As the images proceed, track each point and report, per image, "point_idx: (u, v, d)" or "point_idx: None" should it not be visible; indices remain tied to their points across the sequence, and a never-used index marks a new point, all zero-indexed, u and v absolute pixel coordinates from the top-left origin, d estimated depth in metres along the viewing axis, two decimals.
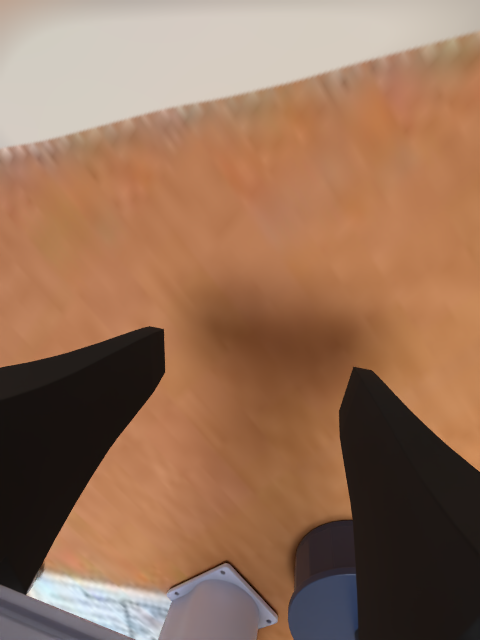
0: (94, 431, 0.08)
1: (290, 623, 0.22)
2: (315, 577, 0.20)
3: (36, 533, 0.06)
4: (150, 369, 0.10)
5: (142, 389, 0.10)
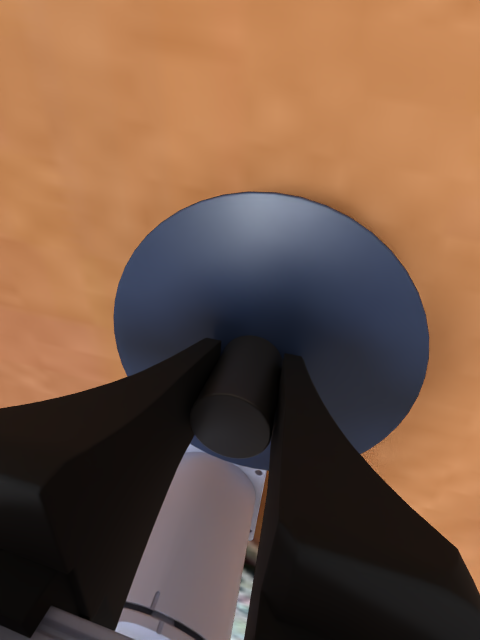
0: (169, 452, 0.07)
1: None
2: None
3: (126, 565, 0.06)
4: None
5: None
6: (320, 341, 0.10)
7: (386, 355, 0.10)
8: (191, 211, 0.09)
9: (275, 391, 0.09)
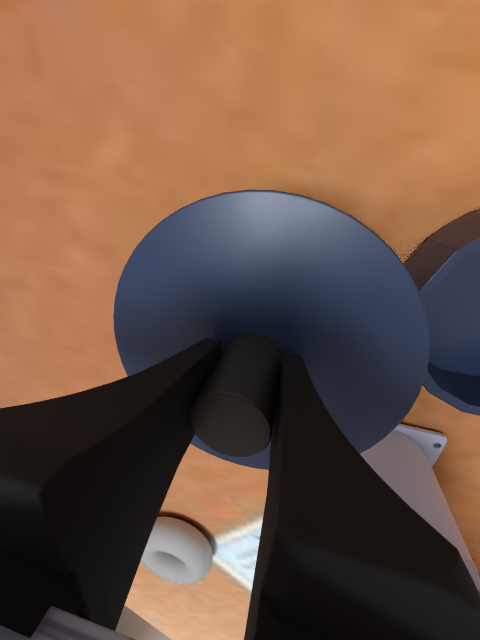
0: (169, 452, 0.07)
1: None
2: None
3: (126, 565, 0.06)
4: None
5: None
6: (320, 340, 0.10)
7: (387, 354, 0.10)
8: (191, 209, 0.09)
9: (275, 390, 0.09)
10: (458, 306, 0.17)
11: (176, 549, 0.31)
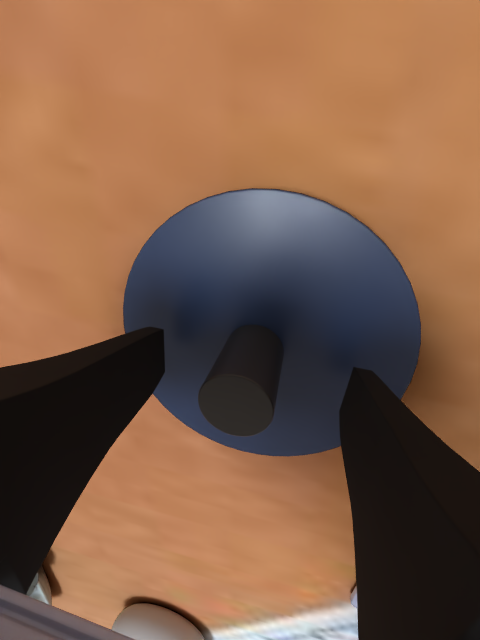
0: (94, 431, 0.08)
1: (179, 417, 0.14)
2: None
3: (36, 533, 0.06)
4: (150, 369, 0.10)
5: (142, 389, 0.10)
6: (319, 329, 0.11)
7: (381, 342, 0.10)
8: (198, 207, 0.10)
9: (277, 374, 0.09)
10: None
11: None
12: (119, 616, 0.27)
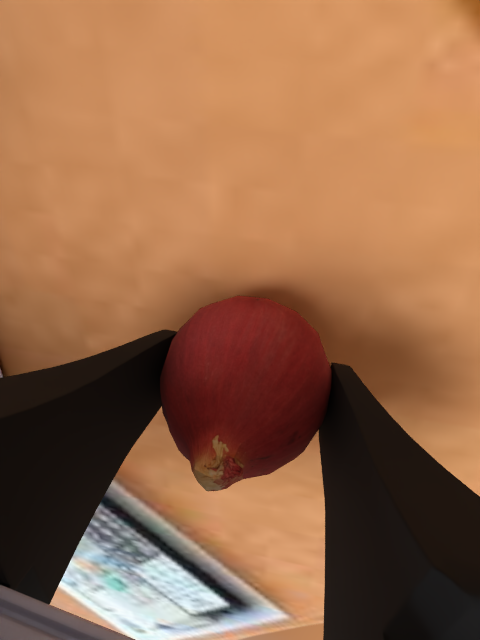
0: (114, 436, 0.08)
1: None
2: None
3: (60, 541, 0.06)
4: None
5: (158, 393, 0.10)
6: None
7: None
8: None
9: None
10: None
11: None
12: None
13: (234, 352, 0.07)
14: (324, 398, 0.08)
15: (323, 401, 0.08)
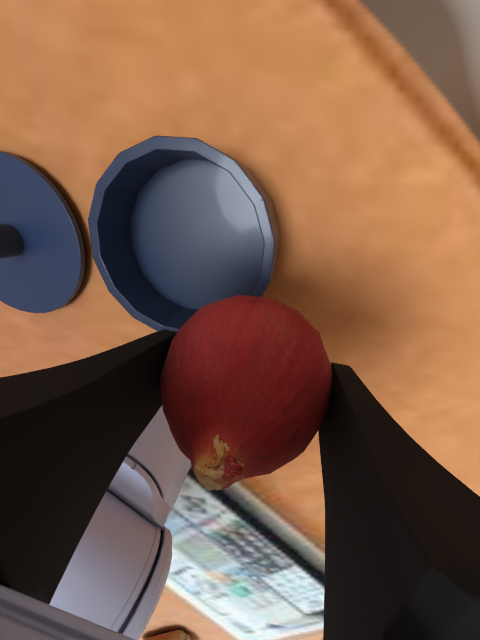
0: (114, 437, 0.08)
1: None
2: None
3: (60, 542, 0.06)
4: None
5: (158, 393, 0.10)
6: (32, 223, 0.21)
7: (58, 227, 0.20)
8: None
9: None
10: (173, 246, 0.20)
11: None
12: None
13: (235, 351, 0.07)
14: (325, 397, 0.08)
15: (324, 400, 0.08)
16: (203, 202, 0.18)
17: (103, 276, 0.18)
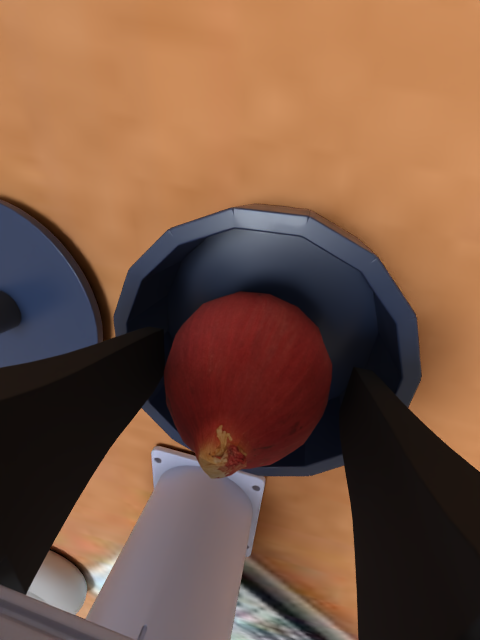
0: (94, 431, 0.08)
1: None
2: None
3: (36, 533, 0.06)
4: (150, 369, 0.10)
5: (142, 389, 0.10)
6: (31, 291, 0.15)
7: (67, 299, 0.15)
8: None
9: None
10: None
11: (33, 586, 0.28)
12: None
13: (237, 344, 0.07)
14: (325, 390, 0.08)
15: (324, 393, 0.08)
16: (279, 280, 0.12)
17: None
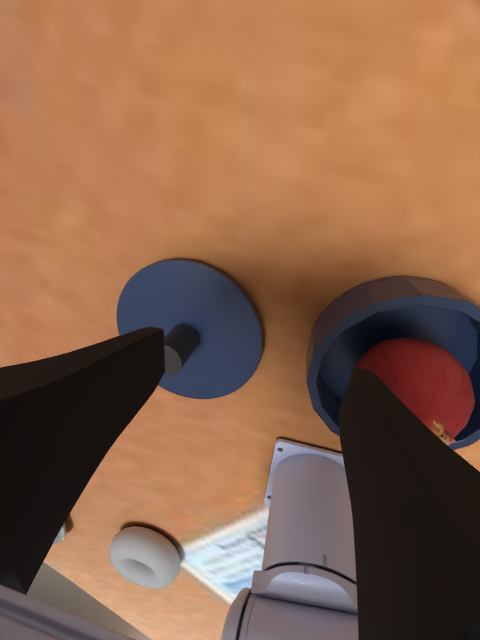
0: (94, 431, 0.08)
1: None
2: None
3: (36, 533, 0.06)
4: (149, 369, 0.10)
5: (142, 389, 0.10)
6: (214, 326, 0.21)
7: (243, 332, 0.21)
8: (152, 267, 0.20)
9: (188, 347, 0.20)
10: None
11: (144, 557, 0.34)
12: (116, 535, 0.37)
13: (433, 375, 0.13)
14: (474, 400, 0.14)
15: (474, 402, 0.14)
16: (409, 324, 0.18)
17: (312, 397, 0.18)
